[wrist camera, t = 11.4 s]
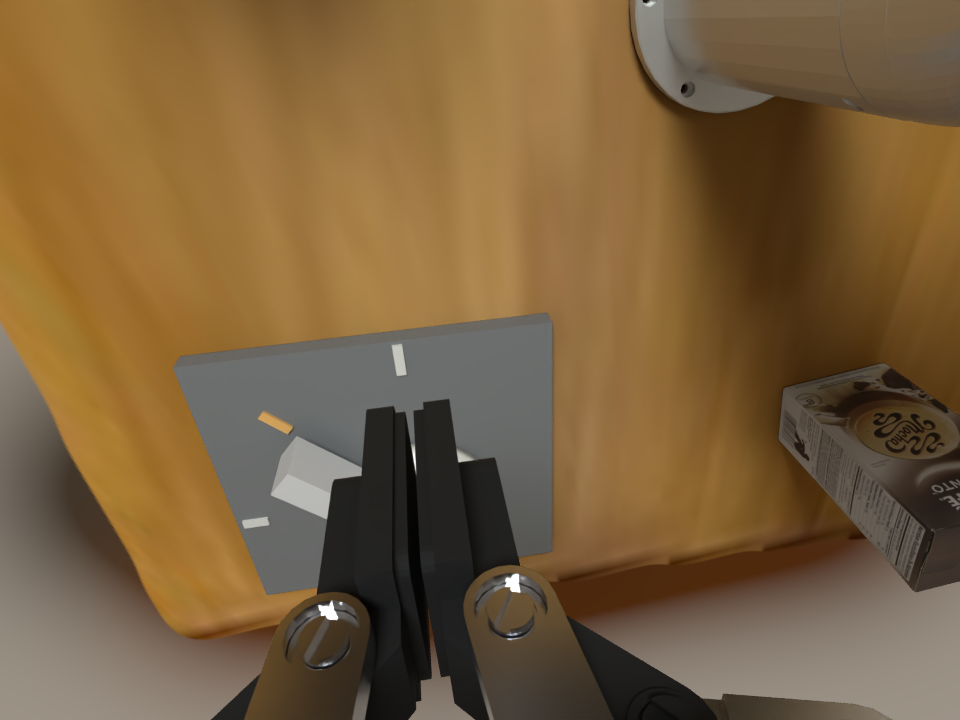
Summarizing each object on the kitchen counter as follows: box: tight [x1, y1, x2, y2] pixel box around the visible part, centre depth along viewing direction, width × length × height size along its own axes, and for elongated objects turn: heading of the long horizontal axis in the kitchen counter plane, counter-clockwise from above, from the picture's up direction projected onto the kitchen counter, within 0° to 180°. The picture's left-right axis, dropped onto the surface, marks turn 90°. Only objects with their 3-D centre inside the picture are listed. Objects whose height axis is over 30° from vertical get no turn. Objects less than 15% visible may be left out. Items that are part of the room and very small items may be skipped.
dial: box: [271, 436, 478, 519], centre depth 43 cm, size 18×12×5 cm, turn 51°
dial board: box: [173, 313, 552, 595], centre depth 46 cm, size 26×24×2 cm
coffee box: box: [778, 363, 960, 592], centre depth 42 cm, size 9×6×16 cm
